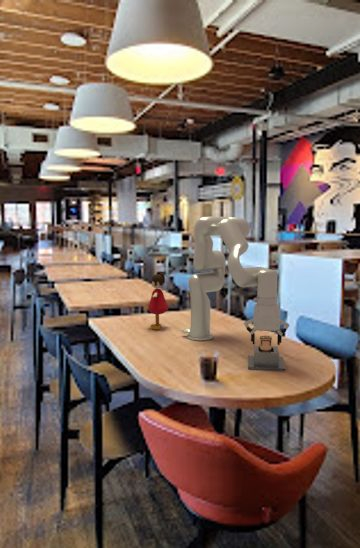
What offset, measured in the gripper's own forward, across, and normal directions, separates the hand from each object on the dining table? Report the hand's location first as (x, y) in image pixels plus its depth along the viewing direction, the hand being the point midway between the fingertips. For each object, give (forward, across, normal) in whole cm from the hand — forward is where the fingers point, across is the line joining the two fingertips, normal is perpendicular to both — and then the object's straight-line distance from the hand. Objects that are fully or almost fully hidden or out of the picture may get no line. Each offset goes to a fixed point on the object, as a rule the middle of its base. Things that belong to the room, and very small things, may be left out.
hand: (265, 343), depth 166 cm
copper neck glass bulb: (+7, 0, 0) cm, 7 cm away
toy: (+9, -54, +49) cm, 73 cm away
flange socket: (+8, 0, 0) cm, 8 cm away
